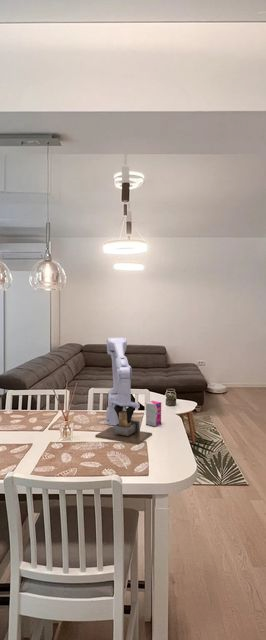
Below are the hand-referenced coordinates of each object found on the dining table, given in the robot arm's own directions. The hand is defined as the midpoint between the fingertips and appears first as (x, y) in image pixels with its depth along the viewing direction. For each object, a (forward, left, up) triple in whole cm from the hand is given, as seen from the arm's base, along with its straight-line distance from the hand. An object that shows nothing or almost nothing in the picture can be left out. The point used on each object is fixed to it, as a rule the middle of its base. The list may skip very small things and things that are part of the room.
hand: (124, 422), depth 176 cm
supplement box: (+5, +21, -6) cm, 23 cm away
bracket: (0, 0, -6) cm, 6 cm away
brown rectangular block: (0, 0, -2) cm, 2 cm away
